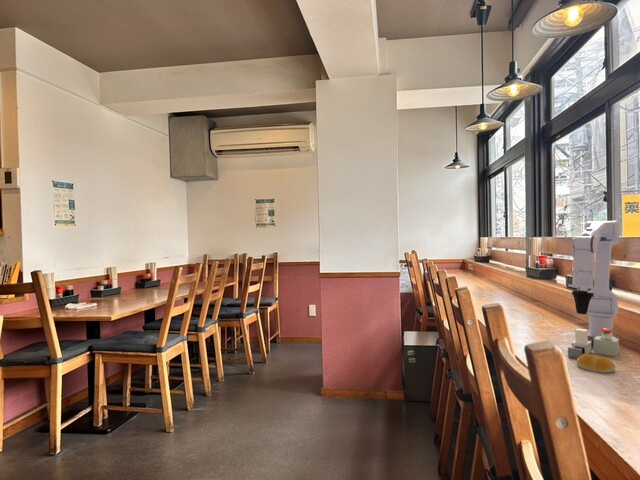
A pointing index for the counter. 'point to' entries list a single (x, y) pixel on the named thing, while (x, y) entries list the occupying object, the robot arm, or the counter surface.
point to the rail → (579, 349)
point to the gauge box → (606, 346)
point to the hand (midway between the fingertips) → (581, 313)
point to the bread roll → (595, 363)
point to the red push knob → (606, 333)
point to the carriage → (582, 340)
